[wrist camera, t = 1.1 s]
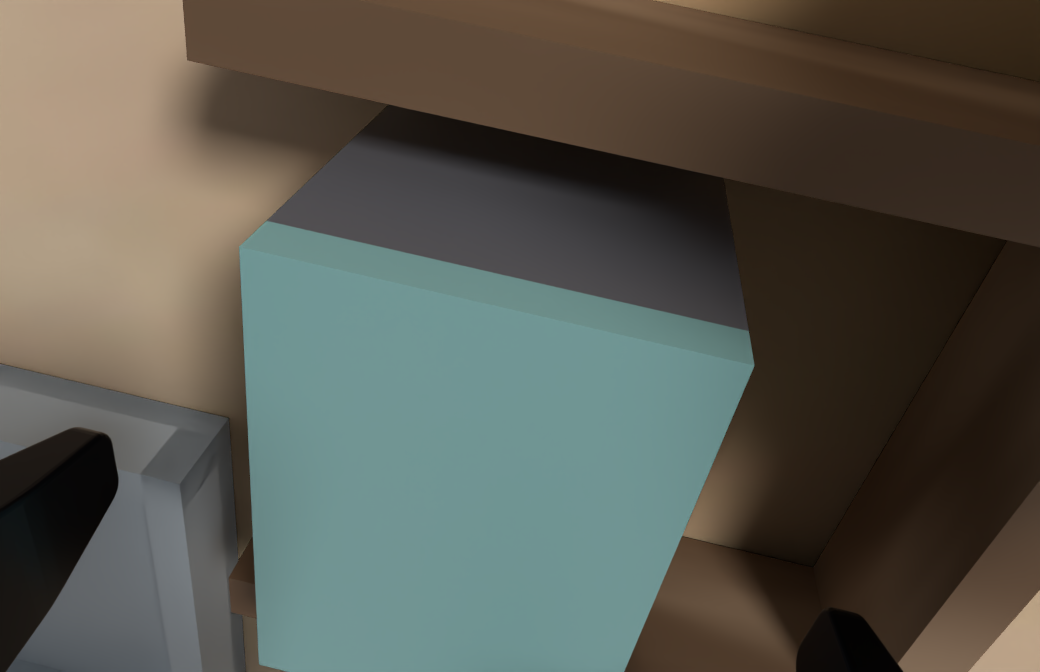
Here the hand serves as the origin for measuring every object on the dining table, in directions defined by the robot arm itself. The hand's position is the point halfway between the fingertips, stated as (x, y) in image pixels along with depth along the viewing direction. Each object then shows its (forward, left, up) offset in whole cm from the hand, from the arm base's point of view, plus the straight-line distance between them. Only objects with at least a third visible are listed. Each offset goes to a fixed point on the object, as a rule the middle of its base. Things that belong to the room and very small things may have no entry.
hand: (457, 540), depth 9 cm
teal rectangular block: (0, 0, -5) cm, 5 cm away
